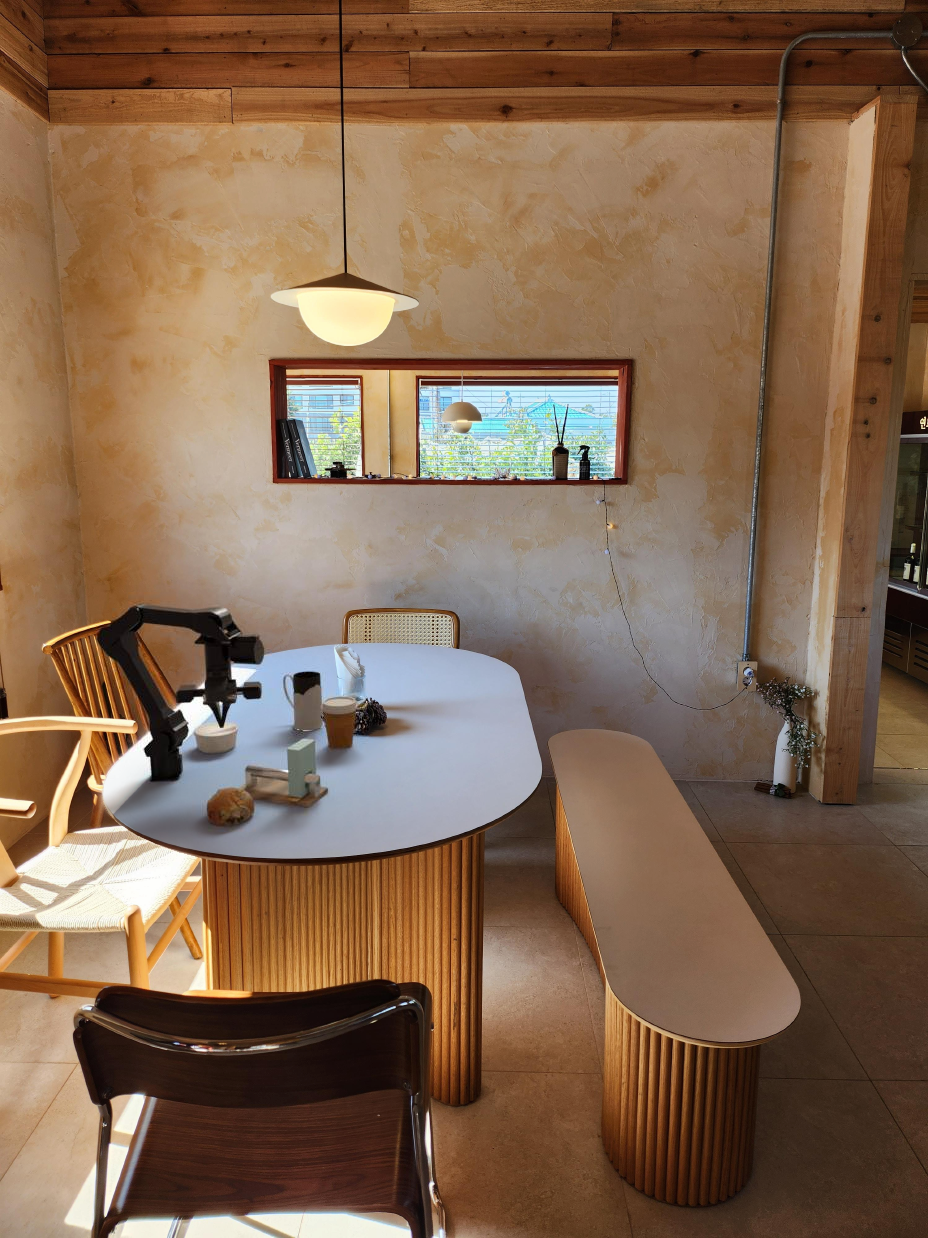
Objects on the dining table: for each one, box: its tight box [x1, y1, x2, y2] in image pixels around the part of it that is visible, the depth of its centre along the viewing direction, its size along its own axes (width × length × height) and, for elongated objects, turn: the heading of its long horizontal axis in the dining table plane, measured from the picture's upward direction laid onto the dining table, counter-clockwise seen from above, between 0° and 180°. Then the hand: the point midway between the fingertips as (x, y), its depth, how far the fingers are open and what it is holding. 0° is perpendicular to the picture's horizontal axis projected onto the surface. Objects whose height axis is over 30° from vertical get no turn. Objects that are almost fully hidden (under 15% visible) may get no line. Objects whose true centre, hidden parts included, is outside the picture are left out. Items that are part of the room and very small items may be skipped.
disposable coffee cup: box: [321, 696, 358, 750], centre depth 219 cm, size 10×10×12 cm
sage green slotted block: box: [286, 738, 317, 798], centre depth 186 cm, size 3×7×11 cm, turn 161°
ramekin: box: [193, 721, 239, 754], centre depth 218 cm, size 11×11×5 cm
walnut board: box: [238, 777, 329, 808], centre depth 189 cm, size 19×9×1 cm, turn 71°
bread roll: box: [206, 787, 255, 827], centre depth 177 cm, size 10×10×8 cm
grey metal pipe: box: [244, 764, 322, 797], centre depth 188 cm, size 18×3×5 cm, turn 71°
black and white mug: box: [282, 670, 324, 731], centre depth 235 cm, size 9×14×15 cm, turn 53°
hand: (221, 727), depth 194 cm, fingers closed
